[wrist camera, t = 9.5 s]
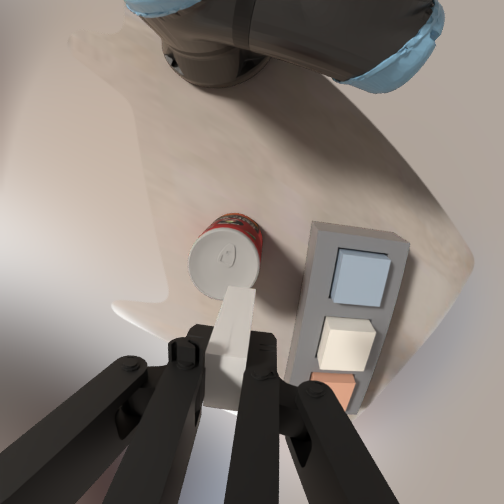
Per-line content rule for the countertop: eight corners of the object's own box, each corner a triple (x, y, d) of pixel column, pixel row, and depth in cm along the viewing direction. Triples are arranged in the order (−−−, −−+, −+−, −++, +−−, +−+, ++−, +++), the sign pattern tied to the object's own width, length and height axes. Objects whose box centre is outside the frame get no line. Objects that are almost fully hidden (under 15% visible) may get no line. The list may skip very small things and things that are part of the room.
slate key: (335, 243, 40) (343, 254, 35) (378, 249, 40) (390, 260, 35) (327, 286, 42) (333, 302, 37) (368, 291, 42) (379, 306, 37)
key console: (311, 220, 42) (318, 230, 37) (393, 232, 42) (410, 243, 36) (282, 387, 50) (282, 411, 44) (350, 391, 50) (356, 414, 44)
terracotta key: (310, 360, 45) (314, 381, 40) (348, 363, 45) (355, 383, 40) (303, 390, 47) (305, 412, 42) (339, 392, 47) (344, 413, 42)
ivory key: (324, 311, 41) (330, 329, 37) (366, 314, 41) (376, 332, 36) (315, 348, 43) (319, 369, 38) (355, 351, 43) (363, 371, 38)
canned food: (265, 214, 43) (263, 232, 32) (260, 271, 45) (256, 305, 34) (208, 209, 43) (187, 225, 32) (205, 265, 45) (186, 297, 34)
